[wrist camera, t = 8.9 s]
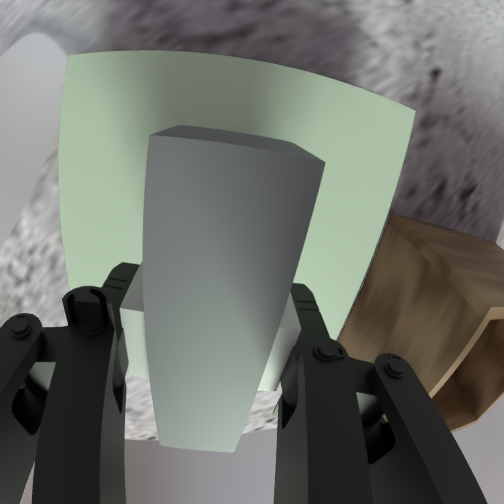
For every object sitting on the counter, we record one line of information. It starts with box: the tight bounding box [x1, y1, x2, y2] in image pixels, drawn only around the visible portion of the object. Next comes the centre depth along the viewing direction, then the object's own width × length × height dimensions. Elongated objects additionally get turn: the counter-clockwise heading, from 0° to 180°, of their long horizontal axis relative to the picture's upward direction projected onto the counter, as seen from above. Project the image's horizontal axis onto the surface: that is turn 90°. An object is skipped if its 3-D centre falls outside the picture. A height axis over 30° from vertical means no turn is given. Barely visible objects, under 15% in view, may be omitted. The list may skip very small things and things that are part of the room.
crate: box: [337, 214, 504, 433], centre depth 20 cm, size 16×16×12 cm
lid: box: [58, 50, 416, 452], centre depth 11 cm, size 17×17×9 cm
